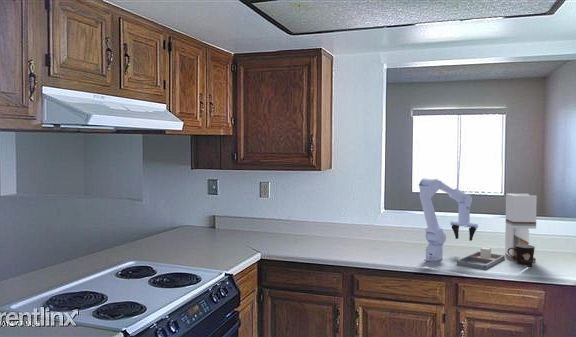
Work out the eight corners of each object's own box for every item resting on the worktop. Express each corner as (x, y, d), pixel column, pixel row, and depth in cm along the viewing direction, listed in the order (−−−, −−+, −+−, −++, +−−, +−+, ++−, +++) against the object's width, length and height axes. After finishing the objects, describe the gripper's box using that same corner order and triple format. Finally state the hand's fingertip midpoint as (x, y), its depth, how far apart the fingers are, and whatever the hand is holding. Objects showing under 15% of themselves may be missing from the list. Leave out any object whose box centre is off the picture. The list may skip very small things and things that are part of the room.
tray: (485, 271, 209) (485, 265, 209) (456, 266, 219) (456, 260, 219) (504, 261, 229) (504, 255, 229) (477, 256, 239) (477, 251, 239)
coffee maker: (512, 261, 228) (513, 195, 227) (505, 256, 239) (505, 193, 237) (535, 262, 226) (536, 195, 225) (527, 257, 237) (528, 193, 236)
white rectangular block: (488, 261, 226) (488, 249, 226) (480, 259, 229) (480, 248, 228) (490, 259, 229) (491, 248, 229) (483, 258, 232) (483, 247, 231)
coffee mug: (536, 265, 220) (536, 245, 220) (532, 268, 214) (532, 248, 214) (511, 261, 228) (511, 242, 228) (506, 264, 222) (506, 245, 221)
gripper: (480, 215, 237) (480, 240, 238) (454, 213, 247) (453, 236, 248) (475, 217, 232) (475, 242, 233) (448, 214, 242) (448, 238, 243)
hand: (463, 239), depth 240 cm, fingers open, 7 cm apart
